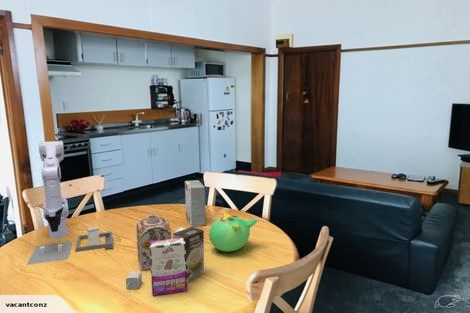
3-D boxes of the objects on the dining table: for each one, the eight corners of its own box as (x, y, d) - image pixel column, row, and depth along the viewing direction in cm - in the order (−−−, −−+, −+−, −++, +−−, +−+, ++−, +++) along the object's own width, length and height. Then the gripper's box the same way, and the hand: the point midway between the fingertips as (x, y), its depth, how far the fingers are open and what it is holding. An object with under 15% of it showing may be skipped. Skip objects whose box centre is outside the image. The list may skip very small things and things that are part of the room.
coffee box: (185, 284, 116) (184, 238, 113) (173, 278, 120) (171, 233, 117) (204, 273, 123) (204, 230, 120) (192, 268, 127) (191, 226, 124)
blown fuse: (87, 244, 147) (86, 228, 146) (98, 242, 150) (96, 226, 149) (89, 246, 145) (88, 230, 144) (99, 244, 147) (98, 228, 146)
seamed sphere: (186, 248, 144) (185, 231, 142) (170, 246, 146) (169, 229, 145) (196, 239, 153) (196, 223, 152) (181, 237, 155) (181, 222, 154)
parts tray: (78, 241, 152) (78, 235, 152) (112, 237, 157) (112, 231, 156) (75, 254, 139) (75, 248, 138) (112, 249, 144) (112, 243, 143)
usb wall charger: (141, 282, 117) (141, 271, 116) (136, 293, 110) (136, 281, 109) (129, 282, 117) (129, 271, 116) (124, 293, 110) (123, 282, 109)
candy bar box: (185, 283, 116) (184, 236, 113) (187, 291, 111) (186, 242, 109) (151, 288, 113) (149, 240, 110) (151, 296, 108) (149, 246, 106)
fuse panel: (36, 248, 145) (35, 240, 144) (73, 243, 149) (72, 235, 149) (27, 267, 128) (26, 258, 127) (68, 261, 133) (67, 252, 132)
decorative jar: (137, 258, 135) (135, 213, 133) (167, 253, 139) (165, 210, 137) (140, 271, 124) (138, 223, 121) (173, 266, 128) (171, 219, 125)
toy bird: (225, 237, 155) (225, 206, 153) (259, 245, 146) (259, 212, 144) (201, 252, 140) (200, 217, 137) (237, 262, 131) (237, 225, 129)
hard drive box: (185, 217, 183) (184, 180, 180) (199, 216, 185) (199, 179, 182) (190, 227, 168) (189, 187, 165) (206, 226, 170) (205, 186, 167)
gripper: (44, 192, 144) (47, 223, 146) (38, 201, 131) (42, 235, 133) (63, 190, 147) (65, 221, 149) (59, 199, 133) (62, 233, 135)
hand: (56, 228), depth 141 cm, fingers open, 7 cm apart
